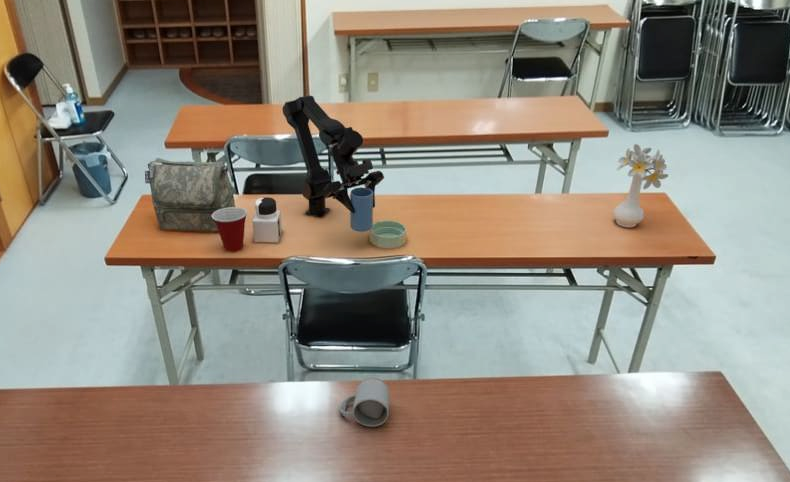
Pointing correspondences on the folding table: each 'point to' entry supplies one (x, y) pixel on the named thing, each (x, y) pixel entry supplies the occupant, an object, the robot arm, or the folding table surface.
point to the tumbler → (361, 209)
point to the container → (267, 221)
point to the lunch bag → (188, 193)
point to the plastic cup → (231, 227)
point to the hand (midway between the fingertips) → (363, 210)
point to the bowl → (388, 234)
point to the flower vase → (638, 183)
